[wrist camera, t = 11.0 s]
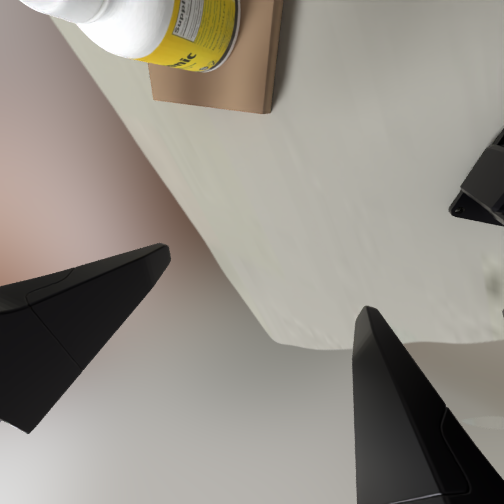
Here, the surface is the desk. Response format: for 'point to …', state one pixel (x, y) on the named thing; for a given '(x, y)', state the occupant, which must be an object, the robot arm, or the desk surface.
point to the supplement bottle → (155, 28)
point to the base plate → (231, 67)
